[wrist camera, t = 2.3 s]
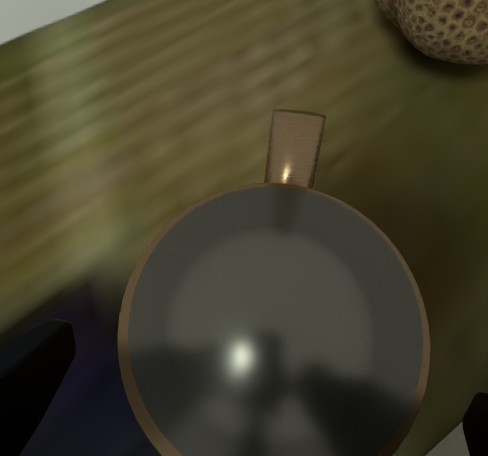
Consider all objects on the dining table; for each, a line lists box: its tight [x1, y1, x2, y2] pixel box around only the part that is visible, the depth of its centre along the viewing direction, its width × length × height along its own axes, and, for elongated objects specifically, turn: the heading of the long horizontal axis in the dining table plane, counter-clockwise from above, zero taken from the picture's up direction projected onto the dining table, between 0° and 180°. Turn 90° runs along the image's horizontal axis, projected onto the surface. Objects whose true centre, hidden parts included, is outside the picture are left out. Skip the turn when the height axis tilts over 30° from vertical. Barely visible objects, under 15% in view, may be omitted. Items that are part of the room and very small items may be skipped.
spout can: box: [118, 109, 430, 456], centre depth 11 cm, size 8×6×11 cm
